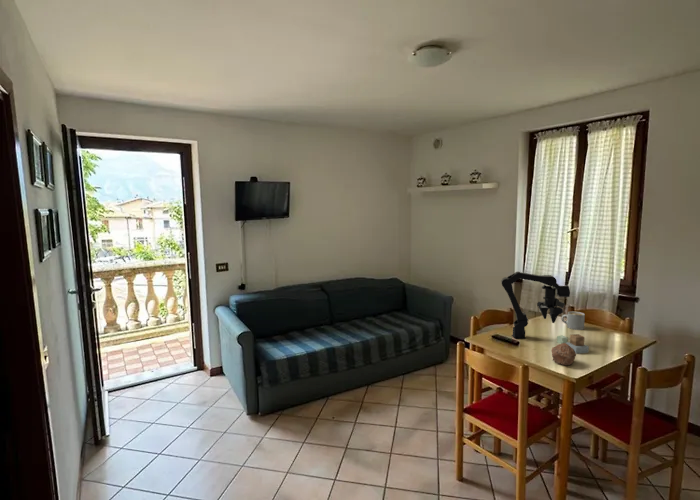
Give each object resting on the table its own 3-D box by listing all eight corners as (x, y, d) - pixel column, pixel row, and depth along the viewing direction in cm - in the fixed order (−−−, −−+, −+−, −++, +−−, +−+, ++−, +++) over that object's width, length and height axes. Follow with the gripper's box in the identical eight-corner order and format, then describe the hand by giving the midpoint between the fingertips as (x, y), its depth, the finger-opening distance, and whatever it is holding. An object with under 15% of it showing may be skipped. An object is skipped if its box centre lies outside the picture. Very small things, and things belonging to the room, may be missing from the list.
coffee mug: (586, 327, 259) (586, 313, 258) (581, 331, 252) (582, 316, 251) (564, 323, 268) (565, 309, 267) (559, 326, 262) (560, 312, 261)
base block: (576, 354, 213) (576, 347, 213) (565, 349, 221) (565, 342, 220) (588, 353, 214) (588, 346, 214) (577, 348, 222) (577, 341, 222)
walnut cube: (575, 346, 215) (575, 337, 214) (570, 342, 220) (570, 334, 219) (584, 345, 215) (584, 337, 214) (578, 342, 220) (578, 334, 219)
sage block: (562, 344, 228) (562, 338, 228) (556, 342, 232) (556, 336, 231) (567, 343, 229) (567, 337, 229) (561, 341, 233) (562, 335, 233)
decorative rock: (556, 356, 209) (557, 338, 208) (579, 362, 201) (580, 344, 200) (546, 363, 201) (547, 344, 200) (569, 369, 192) (570, 350, 191)
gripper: (572, 299, 224) (571, 325, 226) (554, 292, 243) (553, 316, 245) (553, 299, 224) (552, 325, 226) (537, 293, 243) (536, 316, 244)
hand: (549, 320), depth 235 cm, fingers open, 9 cm apart
